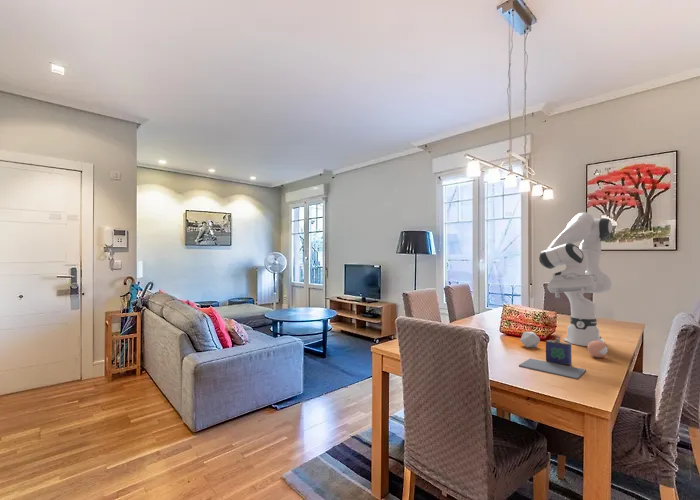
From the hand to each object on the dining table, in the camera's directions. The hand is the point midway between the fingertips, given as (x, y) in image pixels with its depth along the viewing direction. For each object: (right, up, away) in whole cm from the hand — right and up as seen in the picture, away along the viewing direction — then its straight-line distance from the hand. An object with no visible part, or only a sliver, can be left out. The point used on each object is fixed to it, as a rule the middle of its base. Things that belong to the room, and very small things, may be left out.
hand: (567, 296), depth 161 cm
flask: (-10, -29, -9) cm, 32 cm away
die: (-8, -30, +19) cm, 36 cm away
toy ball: (+14, -29, 0) cm, 33 cm away
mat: (-17, -29, -15) cm, 37 cm away
